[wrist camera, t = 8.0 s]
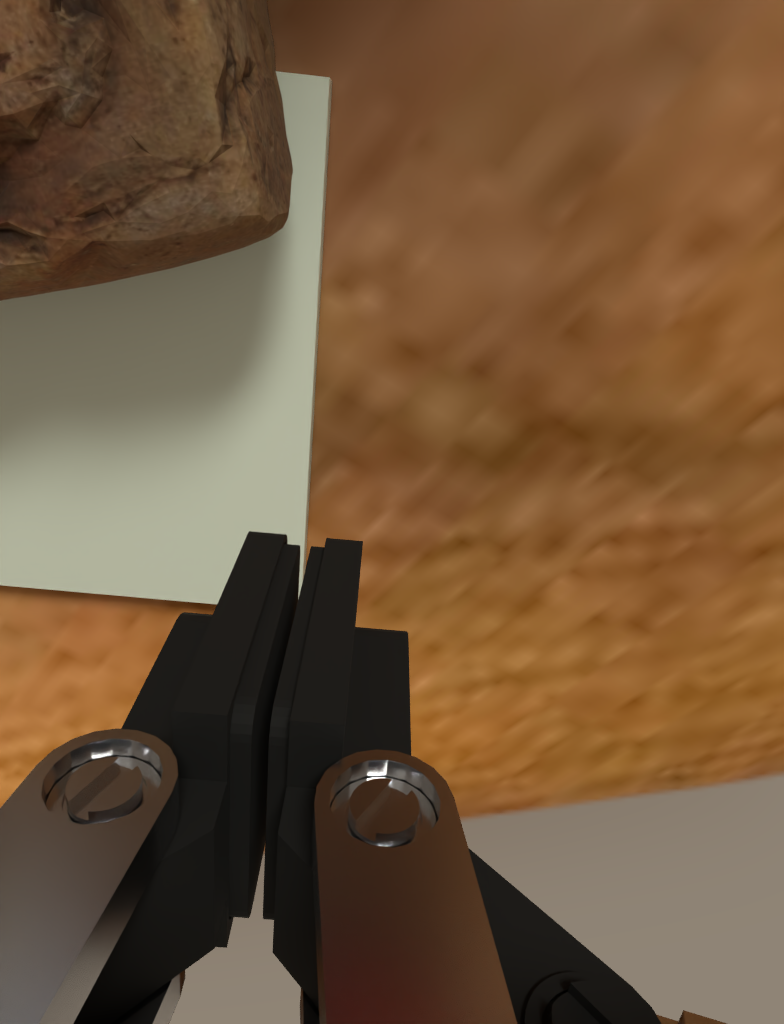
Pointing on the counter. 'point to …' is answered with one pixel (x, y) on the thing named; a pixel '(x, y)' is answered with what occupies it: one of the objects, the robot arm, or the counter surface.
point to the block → (135, 138)
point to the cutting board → (168, 406)
